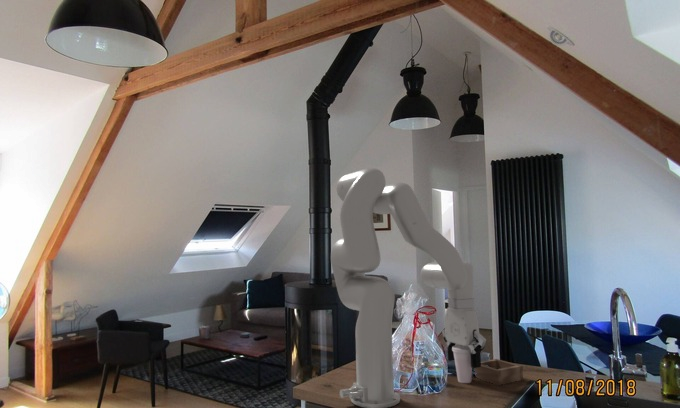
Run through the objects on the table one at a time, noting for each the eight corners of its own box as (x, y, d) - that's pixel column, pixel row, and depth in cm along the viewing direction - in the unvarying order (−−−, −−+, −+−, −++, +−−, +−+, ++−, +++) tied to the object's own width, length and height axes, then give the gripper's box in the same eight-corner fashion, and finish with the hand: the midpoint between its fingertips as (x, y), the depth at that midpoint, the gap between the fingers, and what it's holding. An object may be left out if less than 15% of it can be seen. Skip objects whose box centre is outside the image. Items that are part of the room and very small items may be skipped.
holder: (498, 385, 131) (497, 370, 132) (472, 376, 140) (472, 363, 141) (523, 380, 136) (522, 366, 136) (497, 372, 145) (496, 358, 145)
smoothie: (478, 384, 133) (476, 334, 134) (455, 384, 133) (453, 334, 134) (472, 377, 139) (470, 329, 140) (451, 378, 139) (449, 330, 141)
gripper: (432, 302, 144) (434, 359, 142) (472, 308, 129) (475, 372, 127) (451, 300, 147) (453, 355, 146) (492, 306, 132) (495, 368, 131)
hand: (464, 363), depth 137 cm, fingers open, 9 cm apart
